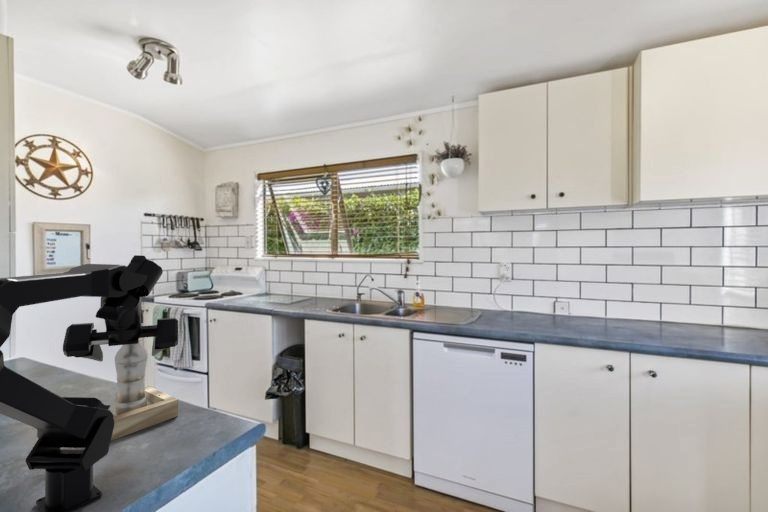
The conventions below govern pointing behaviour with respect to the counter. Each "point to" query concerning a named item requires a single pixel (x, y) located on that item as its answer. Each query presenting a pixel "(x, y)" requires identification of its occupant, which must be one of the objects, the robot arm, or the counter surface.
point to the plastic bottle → (130, 378)
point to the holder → (146, 413)
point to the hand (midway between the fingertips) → (128, 356)
